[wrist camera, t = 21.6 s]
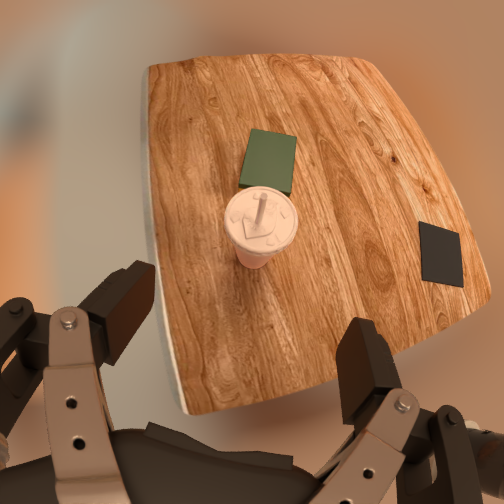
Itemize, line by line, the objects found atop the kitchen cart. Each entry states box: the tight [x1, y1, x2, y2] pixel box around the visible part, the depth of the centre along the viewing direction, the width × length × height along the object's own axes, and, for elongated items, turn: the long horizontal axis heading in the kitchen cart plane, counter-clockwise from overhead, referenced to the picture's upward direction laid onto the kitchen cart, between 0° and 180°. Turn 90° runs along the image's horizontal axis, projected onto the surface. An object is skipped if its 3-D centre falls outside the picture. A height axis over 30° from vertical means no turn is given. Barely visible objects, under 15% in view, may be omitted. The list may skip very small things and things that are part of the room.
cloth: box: [419, 221, 464, 287], centre depth 35 cm, size 9×9×1 cm
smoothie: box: [224, 186, 298, 269], centre depth 26 cm, size 6×6×14 cm
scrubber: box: [238, 129, 297, 198], centre depth 35 cm, size 9×6×4 cm, turn 171°
